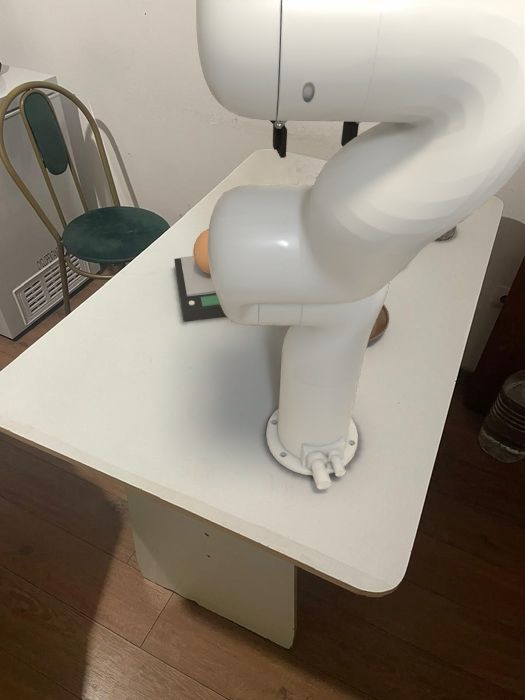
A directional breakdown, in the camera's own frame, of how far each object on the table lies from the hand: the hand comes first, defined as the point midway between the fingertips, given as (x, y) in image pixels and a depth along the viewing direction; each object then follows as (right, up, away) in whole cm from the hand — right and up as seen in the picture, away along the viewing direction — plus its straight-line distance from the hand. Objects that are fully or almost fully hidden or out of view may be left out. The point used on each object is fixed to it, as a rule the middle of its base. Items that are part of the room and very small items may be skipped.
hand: (314, 151), depth 73 cm
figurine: (+30, -2, +40) cm, 50 cm away
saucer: (+7, -24, +16) cm, 30 cm away
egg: (-16, -14, +22) cm, 31 cm away
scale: (-16, -17, +23) cm, 33 cm away
